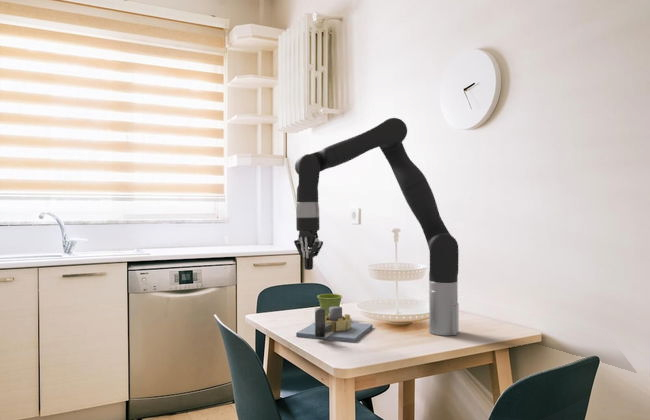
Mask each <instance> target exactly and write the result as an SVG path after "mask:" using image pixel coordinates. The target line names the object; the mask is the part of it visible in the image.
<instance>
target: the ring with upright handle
mask: <svg viewBox="0 0 650 420" xmlns="http://www.w3.org/2000/svg"><path fill="white" fill-rule="evenodd" d="M314 323H315V336H316V337H325V333H327V332H329V331H346V330H349V329H350V328H351V323H352V318H351V315H350V314H349V313H346V314H344V315H342V318H337V321H329V313H328V316H325V308H320V307H316V308H314Z"/></svg>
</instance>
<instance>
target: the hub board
mask: <svg viewBox="0 0 650 420" xmlns="http://www.w3.org/2000/svg"><path fill="white" fill-rule="evenodd" d="M342 316H343V307H342V306H340V307H338V306H333V307H329V321H337V318H342ZM373 326H374V325H373V324H372V323H370V324H369V323H360V322H351V328H350V329H349V330H346V331H329V332H327V333H325V337H316V336H315V322H313V323H311V324H310V325H308V326H306V327H304V328H302V329H301V330H298V331H297V332H296V333H295V336H296V337H299V338H307V339H308V338H309V339H318V340H329V341H336V342H348V343H356V342H357V341H358V340H360V339H361V338H362V337H363V336H365V335H366V334H367V333H368V332H369V331H370V330H372V329H373Z"/></svg>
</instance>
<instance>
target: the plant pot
mask: <svg viewBox="0 0 650 420" xmlns="http://www.w3.org/2000/svg"><path fill="white" fill-rule="evenodd" d="M316 298H317V299H318V302H319V306H320V307H319V308H325V316H328V313H329V307H333V306H338V307H341V306H340V304H341V302H342V301H341V300H342V298H343V295H341V294H338V293H323V294H322V293H321V294H318V295H317V297H316Z"/></svg>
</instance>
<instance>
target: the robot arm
mask: <svg viewBox="0 0 650 420" xmlns="http://www.w3.org/2000/svg"><path fill="white" fill-rule="evenodd" d="M407 134H408V127H407V125H406V123H405V122H404V121H403V119H400V118H397V117H390V118H388V119H386V120H384V121H383V122H381V123H380V124H378V125H377V126H375V127H372V128H371V129H369V130H366V131H365V132H362V133H360V134H358V135H355V136H352V137H349V138H348V139H344V140H341V141H338V142H336V143H334V144H331V145H328V146H326V147H324V148H322V149H320V150H318V151H314V152H312V153H310V154H309V153H308V154H304V155H302V156H300V157H299V158H298V159H297V160H296V161H295V164H294V170H295V172H296V174H297V175H298V186H297V188H296V207H295V213H296V215H295V219H296V221H295V222H296V231H297V232H298V235H297V236H298V239H297V240H296V239H295V240H294V241H293V244H294V245H295V248H296V250H297V252H298V254H299V256H301V257H302V258H303V263H304V264H303V266H304V270H305V271H306V270H309V271H311V270H313V269H314V268H313V267H314V258H315V257H318V255H319V252H321V249H322V247H323V246H324V241H322V240H320V239H319V235H318V231H319V230H320V228H321V227H320V205H319V183H320V182H319V181H320V180H319V179H320V172H322V171H326V170H327V169H331V168H335V167H337V166H340V165H343V164H345V163H348V162H350V161H351V160H354V159H356V158H357V157H359V156H361V155H364V154H365V153H367V152H369V151H371V150H373V149H376V148H379V149H380V150H381V152H382V154H383V155H384V157H385V159H386V160H387V162H388V164H389V165H390V168H391V171H392V173H393V175H394V177H395V179H396V181H397V184H398V185H399V188H400V190H401V193H402V195H403V197H404V199H405V201H406V203H407V205H408V206H409V209H410V210H411V212H412V214H413V215H414V217H415V218H416V220H417V222H418V223H419V225H420V227H421V229H422V232H423V235H424V236H425V240H426V242H427V243H426V244H427V246H428V249H429V272H428V274H429V275H428V282H429V283H428V287H429V288H428V289H429V290H428V295H429V296H428V298H429V299H428V300H429V302H428V303H429V304H428V305H429V308H428V309H429V313H428V315H429V318H428V319H429V325H428V326H429V328H428V329H429V333H430V334H432V335H436V336H458V333H459V328H460V327H459V320H460V318H459V317H460V316H459V312H460V311H459V302H458V301H459V299H458V296H459V295H458V293H459V292H458V278H459V277H458V275H459V255H460V254H459V243H458V241H457V240H456V238H455V237H454V236H453V235H452V234H451V233H450V231H449V230H448V228H447V227H446V225H445V223H444V221H443V219H442V217H441V215H440V213H439V212H440V211H439V208H438V204H437V201H436V199H435V196H434V193H433V190H432V188H431V186H430V184H429V182H428V180H427V178H426V175H425V174H424V173H423V172H422V170H420V168H419V167H418V166H417V165H416V164H415V163H414V162H413V161H412V160H411V159H410V157H409V156H408V153H407V152H406V148H405V146H404V144H403V142H404V140H405V139H406V137H407Z"/></svg>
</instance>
